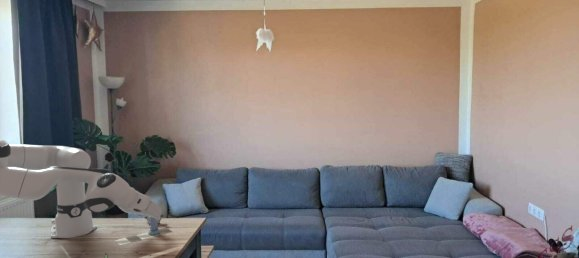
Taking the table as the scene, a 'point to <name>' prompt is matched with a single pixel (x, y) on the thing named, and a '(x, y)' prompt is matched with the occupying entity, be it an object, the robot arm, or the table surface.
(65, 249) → the table surface
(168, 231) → the track
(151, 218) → the pawn
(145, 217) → the game die
